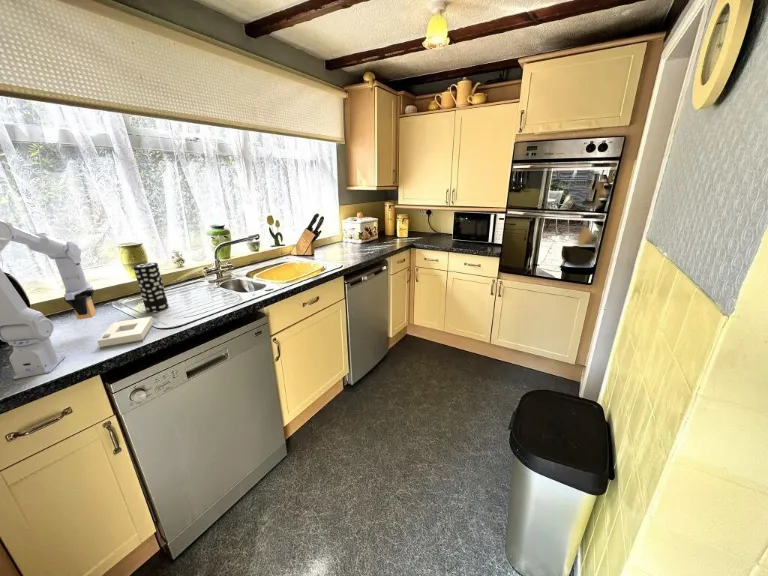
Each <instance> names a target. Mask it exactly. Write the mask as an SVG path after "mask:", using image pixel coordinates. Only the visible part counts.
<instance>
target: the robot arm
mask: <svg viewBox="0 0 768 576" xmlns="http://www.w3.org/2000/svg"><path fill="white" fill-rule="evenodd" d="M10 242H14V243H19V244H22V245H25V246H27V248H29V249H30V250H31V251H34V252H37V253H39V254H44V255H46V256H47V257H48V258H49V259H51V260H54V262H55V264H56V267H57V271H58V273H59V274H60V278H61V281H62V282H63V283H62V284H63V287H64V288H65V290H64V292H65V293H64V295H63V296H64V298H63V300H64V302H65V303H67V304H69V306H71V307H72V308H73V310H74V309H75V311H76V312H77V313H78V314H79V315H85V314H87V307H86V298H87V296H91V299H92V300H93V296H94V293H95V290H94V287H93V285H91V284H90V282H87V280H86V275H85V274H84V271H83V268H82V265H81V263H82V258H81V253H82V251H81V248H80V247H79V246H78V244H77V243H74V242H72V241H63V240H62V239H60V238H55V237H52V236H49V233H46V232H39V233H35V234H33V233H31V232H28V231H26V230H24V229H21V228H20V227H19V228H18V227H16V226H14V225H13V224H12V222H11V221H6V220H4V219H1V218H0V253H2V251H4V249H5V247H6V246H7V245H8V244H9V243H10ZM13 285H14V284H12V282H11V281H10V280H9V278H8V277H7V275H6V274H5V272H4V271H3V269H2V268H1V267H0V340H1V342H5V343H7V344H8V345H9V346H12V347H13V350H12V353H10V356H9V362H10V364H11V366H12V369H13V371H14V372H15V376H13V377H12V378H13V380H16V379H23V378H28V377H32V376H38V375H43V374H49V373H50V372H52V371H53V370H54V369H56V367H57V366H58V365H60V363H61V362H62V361H63V360H64V359H65V358H66V356H65V355H61V356H57V354H56V350H55V348H54V345H53V344H52V341H51V339H50V337H52V334H53V332H54V330H55V329H54V324H53V322H52V320H51V319H49V318H48V317H46V316H45V315H44V314H43V312H41V311H38V310H35V309H33V308H30V307H28V305H27V304H26V302H25V301H24V300H23V298H22V297H21V295H20V294H19V292H18V291H17V290H16V288H15V286H13ZM75 311H74V312H75Z"/></svg>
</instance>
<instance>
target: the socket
mask: <svg viewBox="0 0 768 576" xmlns="http://www.w3.org/2000/svg"><path fill="white" fill-rule="evenodd" d="M153 323H154V319H153V316H147V317H139V318H133V319H126V320H121V321H114V322H113V323H112V324H111V325H110V326H109V327H108V328H107V329H106V330H105V331H104V332H103V334H102V335H101V336H100V337H99V338H98V340H97V344H98V347H99V349H100V350H101V349H106V348H111V347H112V348H113V347H117V346H123V345H130V344H135V343H140V342H139V341H141V342H144V341H145V339H146V337H147V336H148V334H149V333H150V331H149V330H151V329H152V328H153V326H152V324H153ZM153 325H154V324H153ZM150 328H151V329H150ZM147 333H148V334H147ZM146 335H147V336H146ZM144 338H145V339H144ZM143 340H144V341H143Z"/></svg>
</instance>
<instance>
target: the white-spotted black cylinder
mask: <svg viewBox="0 0 768 576" xmlns="http://www.w3.org/2000/svg"><path fill="white" fill-rule="evenodd" d="M133 271H134V274H135V277H136V282H137V284H138V289H139V291H140V295H141V298H142V302H143V306H144V309H145V312H146V311H147V313H157V312H162V311H165V310H167V309H168V308H169V307H170V306H169V303H168V298H167V296H166V295H167V294H166V291H165V287H164V284H163V279H162V276H161V271H160V267H159V265H158V262H147V263H146V262H145V263H140V264H136V265H133Z"/></svg>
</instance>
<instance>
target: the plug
mask: <svg viewBox="0 0 768 576" xmlns="http://www.w3.org/2000/svg"><path fill="white" fill-rule="evenodd" d="M86 307H87V314H85V315H79V314H78V313H77V312H76V311H75V309H74V308H73V310H74V313H75V316H76V319H77V320H84V319H91V318H93V317H95V315H97V311H96V307H95V304H94V303H93V298H92V299H91V296H87V298H86Z"/></svg>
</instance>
